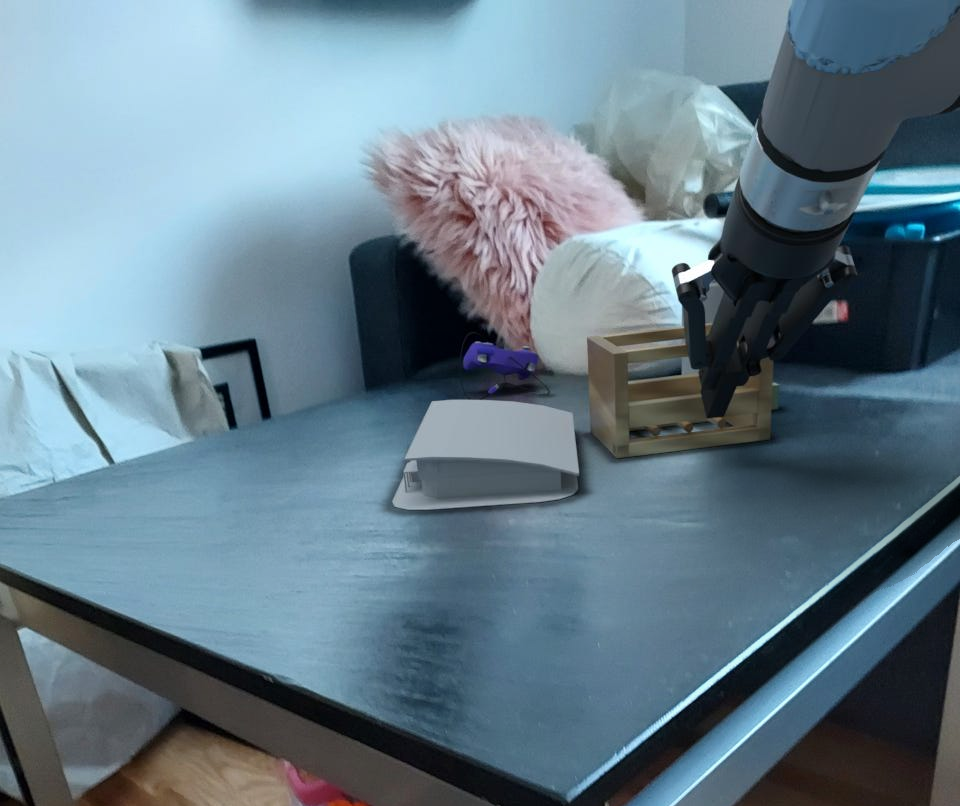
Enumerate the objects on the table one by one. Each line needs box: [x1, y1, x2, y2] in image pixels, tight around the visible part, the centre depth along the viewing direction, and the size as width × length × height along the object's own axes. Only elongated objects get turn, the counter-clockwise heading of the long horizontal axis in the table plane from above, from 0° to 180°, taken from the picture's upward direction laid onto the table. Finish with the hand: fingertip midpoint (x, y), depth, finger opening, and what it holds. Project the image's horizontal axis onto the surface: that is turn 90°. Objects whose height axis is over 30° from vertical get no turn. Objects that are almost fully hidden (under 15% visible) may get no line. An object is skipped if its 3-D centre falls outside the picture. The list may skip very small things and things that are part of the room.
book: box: [391, 399, 580, 511], centre depth 84 cm, size 15×23×4 cm, turn 177°
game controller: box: [459, 331, 551, 400], centre depth 112 cm, size 10×8×10 cm
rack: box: [586, 323, 774, 459], centre depth 87 cm, size 14×10×9 cm
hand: (712, 403), depth 81 cm, fingers closed
